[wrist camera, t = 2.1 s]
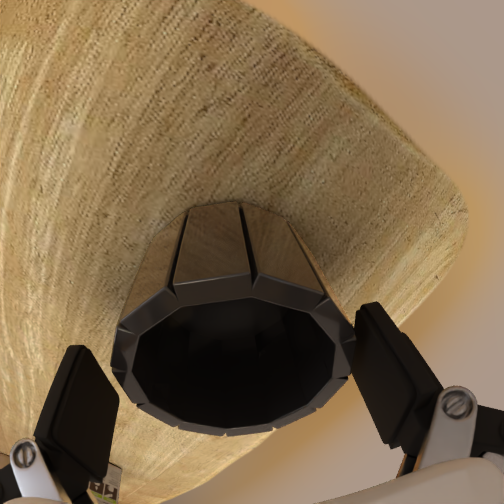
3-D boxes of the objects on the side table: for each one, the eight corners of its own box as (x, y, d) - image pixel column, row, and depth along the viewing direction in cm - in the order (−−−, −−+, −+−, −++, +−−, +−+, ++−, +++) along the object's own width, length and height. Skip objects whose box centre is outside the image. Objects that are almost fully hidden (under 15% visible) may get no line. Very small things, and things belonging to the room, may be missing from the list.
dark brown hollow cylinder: (124, 217, 11) (69, 297, 6) (307, 188, 12) (368, 253, 7) (176, 365, 15) (169, 452, 11) (309, 346, 16) (338, 430, 11)
